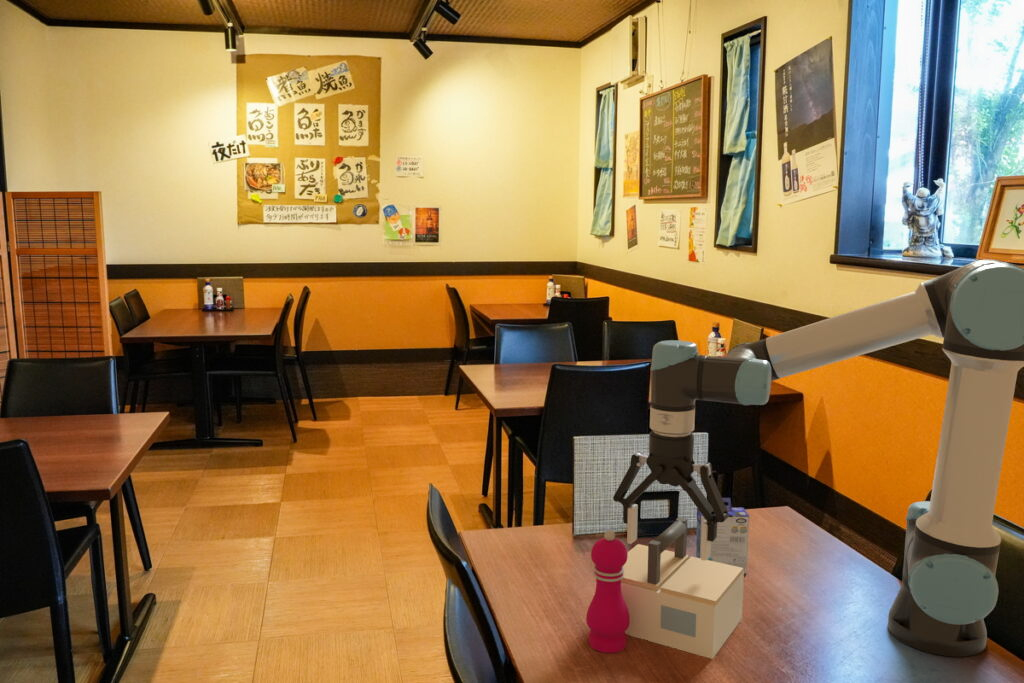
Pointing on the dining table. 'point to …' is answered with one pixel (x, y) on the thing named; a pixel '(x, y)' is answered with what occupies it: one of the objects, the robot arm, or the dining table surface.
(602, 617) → the pepper mill
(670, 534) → the flap
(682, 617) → the carton
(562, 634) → the dining table surface
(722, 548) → the ink cartridge box
